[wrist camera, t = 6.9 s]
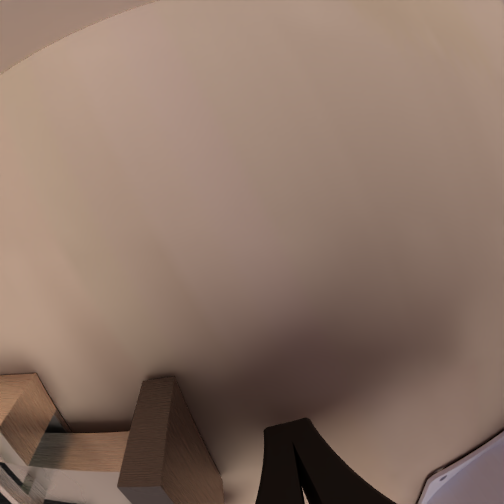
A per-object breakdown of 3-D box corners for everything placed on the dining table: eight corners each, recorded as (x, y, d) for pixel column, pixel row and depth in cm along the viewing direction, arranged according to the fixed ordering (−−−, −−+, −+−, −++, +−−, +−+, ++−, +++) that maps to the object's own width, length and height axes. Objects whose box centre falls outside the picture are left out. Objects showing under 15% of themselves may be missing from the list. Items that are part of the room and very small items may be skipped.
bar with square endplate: (166, 357, 9) (146, 467, 5) (222, 479, 10) (229, 563, 6) (-7, 376, 8) (-59, 443, 4) (70, 483, 10) (51, 549, 6)
